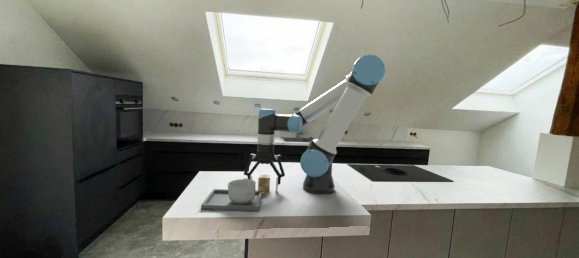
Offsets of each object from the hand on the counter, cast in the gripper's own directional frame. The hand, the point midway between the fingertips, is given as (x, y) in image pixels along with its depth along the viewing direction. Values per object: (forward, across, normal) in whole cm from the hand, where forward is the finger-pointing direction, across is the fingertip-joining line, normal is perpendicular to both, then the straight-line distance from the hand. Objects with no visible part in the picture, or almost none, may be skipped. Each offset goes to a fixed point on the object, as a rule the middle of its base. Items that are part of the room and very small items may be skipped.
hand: (263, 190), depth 119 cm
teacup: (0, +8, +14) cm, 16 cm away
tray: (0, +11, +14) cm, 18 cm away
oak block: (0, 0, 0) cm, 0 cm away
